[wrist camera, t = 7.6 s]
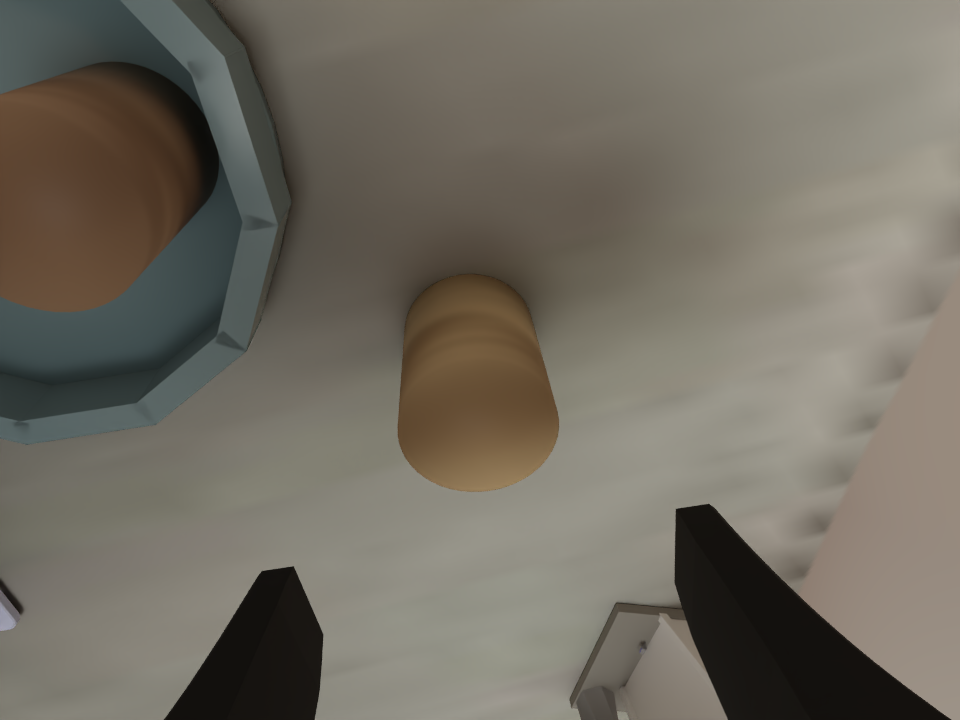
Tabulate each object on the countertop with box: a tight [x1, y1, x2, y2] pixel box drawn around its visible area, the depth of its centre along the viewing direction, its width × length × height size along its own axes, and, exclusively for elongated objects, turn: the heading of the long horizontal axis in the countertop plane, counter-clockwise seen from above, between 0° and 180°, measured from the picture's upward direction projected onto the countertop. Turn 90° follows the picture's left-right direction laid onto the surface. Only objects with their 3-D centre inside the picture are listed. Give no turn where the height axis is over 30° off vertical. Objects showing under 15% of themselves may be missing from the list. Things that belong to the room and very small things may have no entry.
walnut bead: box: [0, 61, 219, 312], centre depth 14 cm, size 4×4×5 cm
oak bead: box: [398, 274, 559, 492], centre depth 18 cm, size 4×4×5 cm
